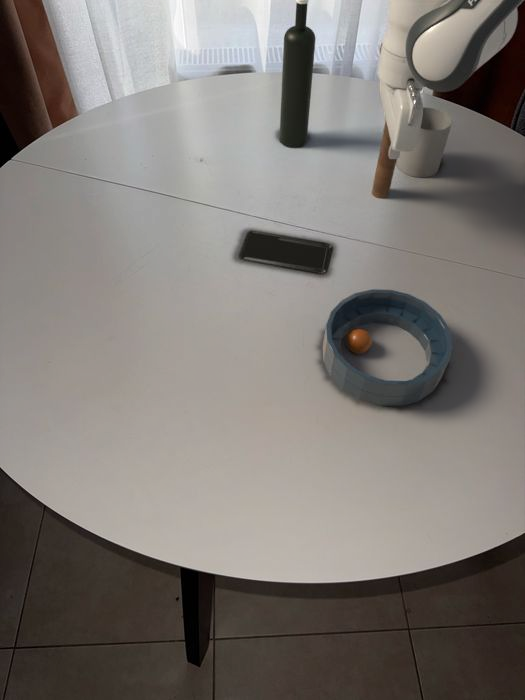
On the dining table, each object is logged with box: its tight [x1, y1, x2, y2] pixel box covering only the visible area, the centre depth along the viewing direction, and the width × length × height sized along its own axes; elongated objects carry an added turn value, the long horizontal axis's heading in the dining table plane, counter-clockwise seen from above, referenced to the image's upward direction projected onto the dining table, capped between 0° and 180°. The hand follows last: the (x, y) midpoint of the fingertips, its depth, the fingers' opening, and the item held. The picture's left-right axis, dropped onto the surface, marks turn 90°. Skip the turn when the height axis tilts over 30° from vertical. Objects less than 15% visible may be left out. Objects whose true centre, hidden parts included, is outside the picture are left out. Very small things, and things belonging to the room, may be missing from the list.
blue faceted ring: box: [322, 288, 454, 407], centre depth 83 cm, size 17×17×6 cm
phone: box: [237, 229, 333, 275], centre depth 99 cm, size 8×1×15 cm
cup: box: [396, 106, 453, 179], centre depth 113 cm, size 8×8×10 cm
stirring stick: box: [371, 122, 397, 200], centre depth 104 cm, size 3×3×16 cm
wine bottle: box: [279, 0, 316, 149], centre depth 110 cm, size 6×6×30 cm
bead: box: [346, 328, 373, 355], centre depth 85 cm, size 4×4×4 cm
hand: (390, 145), depth 101 cm, fingers open, 6 cm apart
